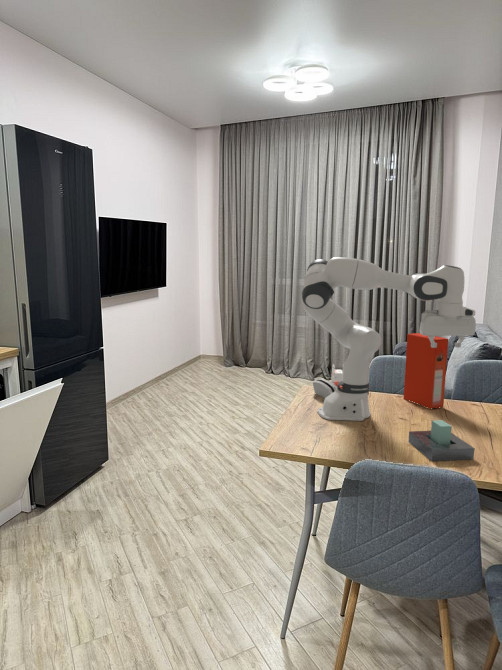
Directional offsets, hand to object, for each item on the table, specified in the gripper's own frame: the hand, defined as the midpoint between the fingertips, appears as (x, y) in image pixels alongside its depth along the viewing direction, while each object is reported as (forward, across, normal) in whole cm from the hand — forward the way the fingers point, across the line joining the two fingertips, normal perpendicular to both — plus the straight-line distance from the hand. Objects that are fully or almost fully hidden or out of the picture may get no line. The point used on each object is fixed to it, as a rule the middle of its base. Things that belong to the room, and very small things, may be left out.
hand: (445, 347), depth 174 cm
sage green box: (+34, -6, -13) cm, 37 cm away
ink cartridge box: (+35, -22, +58) cm, 71 cm away
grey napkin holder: (+35, -29, +52) cm, 69 cm away
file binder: (+35, +14, +40) cm, 55 cm away
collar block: (+34, -6, -13) cm, 37 cm away
